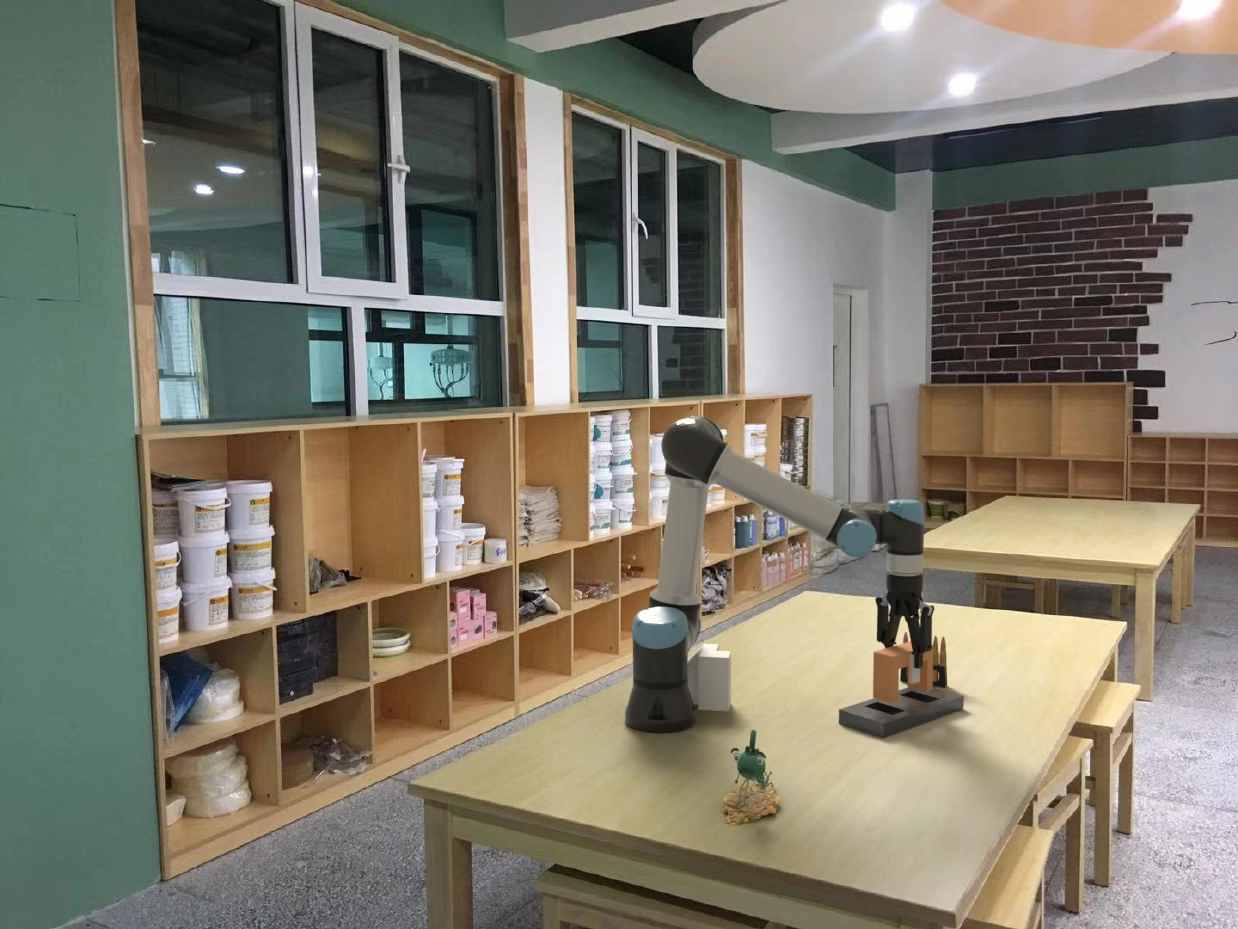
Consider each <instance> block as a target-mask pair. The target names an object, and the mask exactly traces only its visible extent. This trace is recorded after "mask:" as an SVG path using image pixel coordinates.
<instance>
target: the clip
mask: <svg viewBox="0 0 1238 929" xmlns="http://www.w3.org/2000/svg"><path fill="white" fill-rule="evenodd" d="M912 651H913V650H912V645H911V640H910V641H908V642H907V643H903V642H902V643H899V644H895V645H893V646H892V647H889V648H885V647H884V648H883V649H878V650H875V651H873V665H872V666H873V668H872V669H873V671H872V674H873V676H872V677H873V678H872V699H873V698H875V699H879V700H882V701H886V702H889V703H892V704H893V703H896V702H898V690H900V689H899V682H900V676H899V675H900V670H901V668H904V667H907V666H908V683H907V688H908V687H911V688H914V689H918V690H922V691H925V692H928V691H931V690H933V688H934V686H933V644H932V650H931V651H928V652H924V653H923V666H922V668H920V682H917V683H914V684H910V683H909V657H910V653H911V652H912Z"/></svg>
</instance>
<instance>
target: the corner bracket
mask: <svg viewBox="0 0 1238 929" xmlns="http://www.w3.org/2000/svg"><path fill="white" fill-rule="evenodd" d="M687 679H688V689H689V692H690V695H691V698H692V701H693V705H696V706H697V705H698V706H697V708H698V709H697V710H700V711H718V712H729V711H730V707H731V705H732V651H729V650H720V649H719V643H717V644H715V643H714V644H713V643H703V644H702V645H701V646H700V647H699V648H698V649H696V651H694V653H692V655H690V656H689V657H688V676H687Z"/></svg>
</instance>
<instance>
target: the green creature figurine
mask: <svg viewBox="0 0 1238 929" xmlns="http://www.w3.org/2000/svg"><path fill="white" fill-rule="evenodd" d="M749 734H750V737H749V745H746V746H745V749H744V751H743V752H742V753H740V752H739V751H740V750H739V748H738V747H732V749H730V754H733V758H734V761H735V762H736V764H737V765H736V769H737V771H738V774H737V778H736V779H735V780H734V783H735V784H739V783H738V782H739V781H738V780H739V778H740V777H739V776H741V777H742V778H743V779H745V780H744V781H743V782H742V785H741V786H739V787H737V788H736V789H734V790H732V791H730V793H729V794H727V796H725V797H724V798H722V803H723V804H722V805H723V806H722V807H721V808H722V809H721V810H722V811H723V812H724V813H725V812H727V817H726V818H724V823H725V824H730V825H731V826H739V825H741V824H742V823H745V824H746V823H752V822H756V821H757V820H759V819H760V818H762V817H763V816H767V815H774V814H776V813H777V809H778V806H779V805H780V803H781V802H782V798H781V796H779V794H778V790H777V789H776V788H775V783H774V782H772V781H771V782H769V780H770V776H771V775H772V774H773V772H772V771H770V772H769V774H767V772H766V760H767V756H766V754H765V753H764V752H762V751H760V748H756V742H757V741H756V739H757V731H756V729H752V730H750V733H749ZM765 776H766V778H765ZM749 781H752V782H753V784H752V785H750V786H749ZM777 795H778V796H777Z"/></svg>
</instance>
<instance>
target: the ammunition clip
mask: <svg viewBox="0 0 1238 929" xmlns="http://www.w3.org/2000/svg"><path fill="white" fill-rule="evenodd" d="M902 638H903V639H902V644H903V643H907V642H909V636H908V633H907V631H905V632H904V634H903V637H902ZM946 643H947V642H946V639H945V636H942V638H941V640H940V650H939V641H938V637H937V635H934V637H933V639H932V645H933V688H940V689H941V688H942V689H946V688H947V687H948V670H947V669H948V667H947V666H948V665H947V655H948V654H947V647H946V646H947V644H946ZM899 675H900V676H899V682H901V683H902V682H903V683H907V684H908V666H907V667H904V668H901V669H900V673H899Z"/></svg>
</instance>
